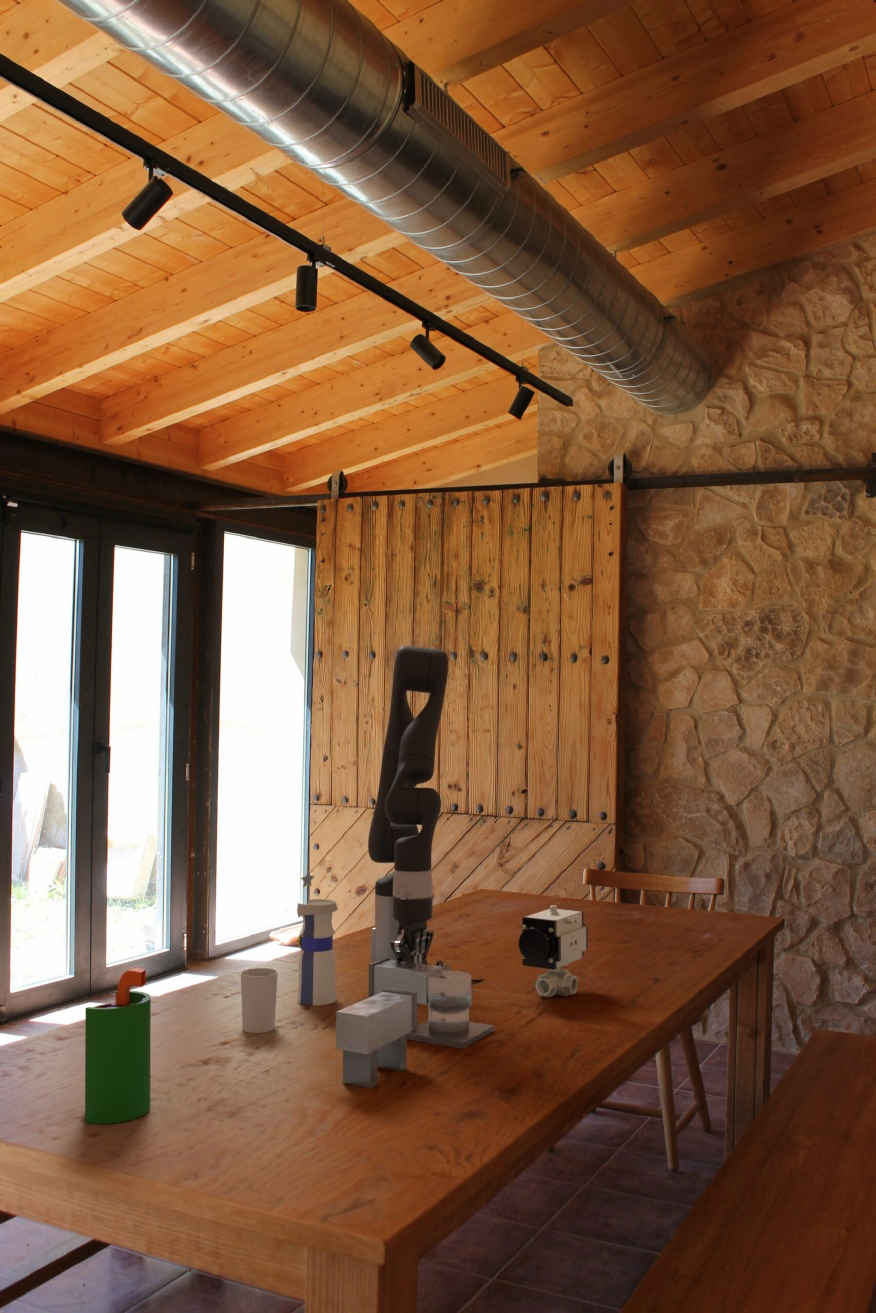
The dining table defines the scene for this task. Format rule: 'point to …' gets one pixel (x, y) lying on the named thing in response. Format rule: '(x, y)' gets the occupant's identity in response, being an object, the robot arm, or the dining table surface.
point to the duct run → (375, 1035)
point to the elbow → (422, 983)
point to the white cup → (258, 999)
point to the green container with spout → (118, 1054)
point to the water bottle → (316, 951)
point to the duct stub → (450, 1029)
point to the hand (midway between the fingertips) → (412, 986)
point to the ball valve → (554, 947)
